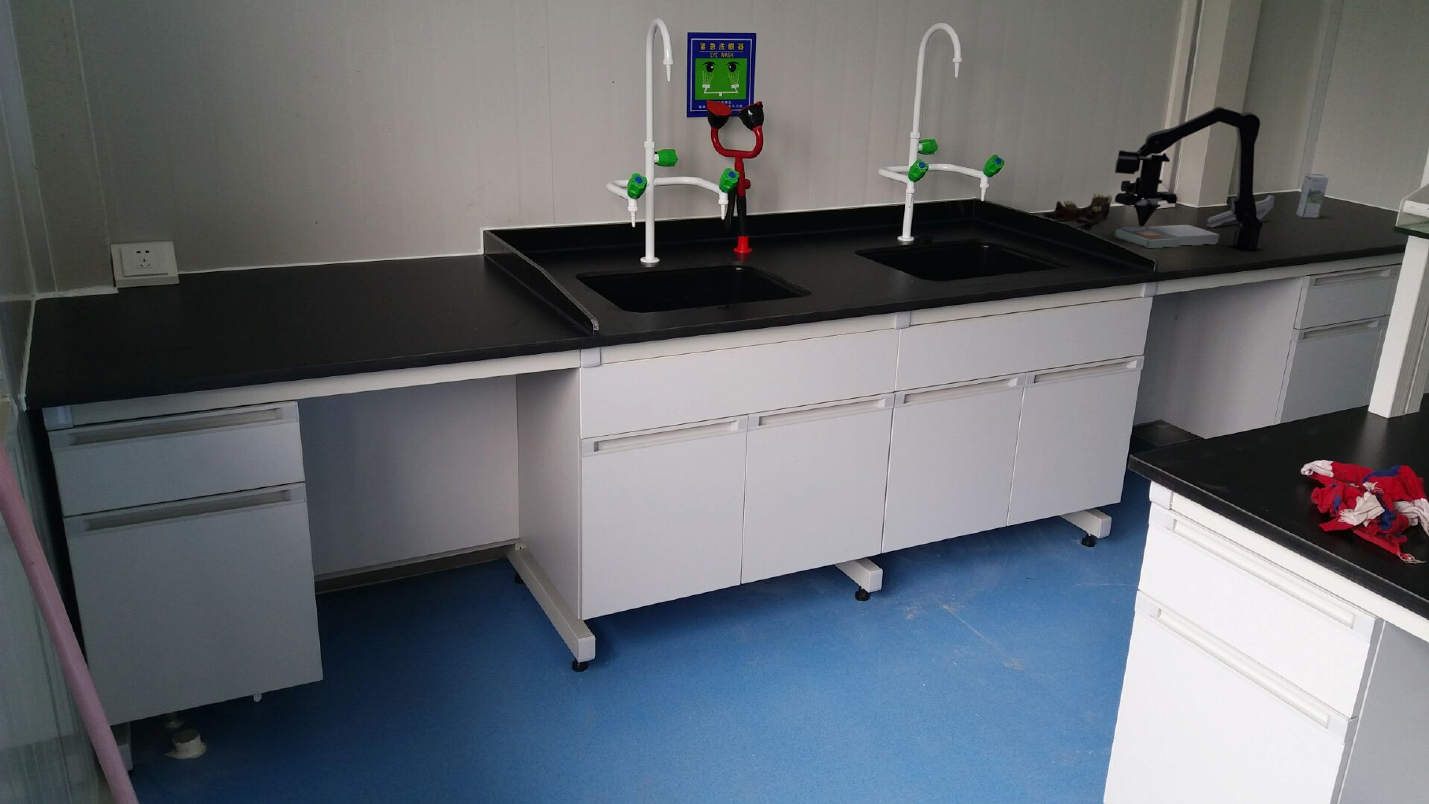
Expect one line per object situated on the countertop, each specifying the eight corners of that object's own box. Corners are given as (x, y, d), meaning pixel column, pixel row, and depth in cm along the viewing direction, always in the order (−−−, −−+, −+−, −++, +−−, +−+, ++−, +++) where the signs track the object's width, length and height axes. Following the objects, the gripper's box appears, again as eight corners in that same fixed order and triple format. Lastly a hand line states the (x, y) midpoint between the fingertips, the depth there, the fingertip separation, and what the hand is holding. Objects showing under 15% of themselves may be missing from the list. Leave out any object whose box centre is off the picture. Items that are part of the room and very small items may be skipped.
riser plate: (1217, 244, 333) (1219, 234, 332) (1176, 246, 329) (1178, 236, 328) (1186, 234, 345) (1187, 224, 344) (1146, 236, 341) (1148, 226, 340)
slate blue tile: (1131, 231, 333) (1130, 239, 334) (1145, 230, 334) (1144, 238, 335) (1122, 227, 337) (1120, 235, 338) (1136, 227, 339) (1134, 234, 340)
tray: (1177, 247, 328) (1179, 238, 327) (1147, 248, 325) (1149, 240, 324) (1143, 235, 342) (1145, 227, 341) (1114, 236, 339) (1115, 229, 338)
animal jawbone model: (1131, 232, 358) (1140, 204, 353) (1077, 244, 348) (1084, 215, 343) (1093, 212, 371) (1101, 185, 365) (1039, 223, 361) (1046, 195, 355)
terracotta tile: (1146, 235, 328) (1144, 243, 329) (1160, 234, 329) (1159, 242, 330) (1136, 231, 332) (1134, 239, 333) (1150, 231, 333) (1148, 239, 334)
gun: (1272, 217, 367) (1274, 195, 364) (1209, 240, 356) (1211, 217, 353) (1267, 216, 369) (1269, 194, 365) (1204, 239, 358) (1206, 216, 354)
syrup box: (1312, 215, 379) (1322, 173, 374) (1319, 218, 374) (1329, 176, 368) (1295, 214, 380) (1304, 172, 374) (1302, 218, 374) (1311, 175, 369)
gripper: (1158, 170, 340) (1149, 219, 345) (1107, 171, 334) (1099, 221, 340) (1182, 176, 330) (1173, 227, 336) (1130, 178, 324) (1122, 229, 330)
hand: (1141, 226), depth 336 cm, fingers closed
